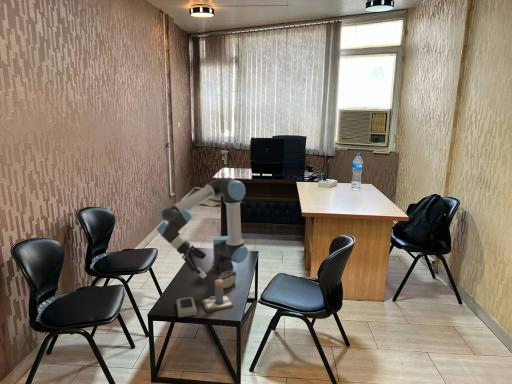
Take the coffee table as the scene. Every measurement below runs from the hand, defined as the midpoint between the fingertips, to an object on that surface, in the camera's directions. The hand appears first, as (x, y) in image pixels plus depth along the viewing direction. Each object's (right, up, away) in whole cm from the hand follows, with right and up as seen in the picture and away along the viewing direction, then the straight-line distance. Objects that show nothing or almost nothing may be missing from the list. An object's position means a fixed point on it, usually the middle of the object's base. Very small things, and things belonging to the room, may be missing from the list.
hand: (208, 271), depth 199 cm
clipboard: (+4, -19, +4) cm, 20 cm away
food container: (+8, -15, +22) cm, 28 cm away
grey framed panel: (-12, -21, 0) cm, 24 cm away
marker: (+6, -18, +3) cm, 19 cm away
